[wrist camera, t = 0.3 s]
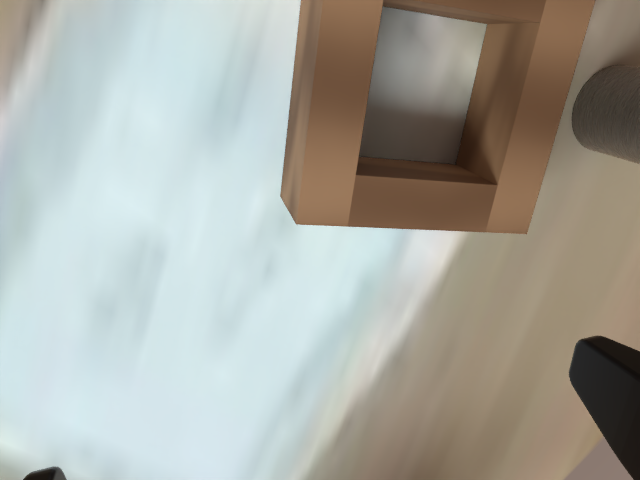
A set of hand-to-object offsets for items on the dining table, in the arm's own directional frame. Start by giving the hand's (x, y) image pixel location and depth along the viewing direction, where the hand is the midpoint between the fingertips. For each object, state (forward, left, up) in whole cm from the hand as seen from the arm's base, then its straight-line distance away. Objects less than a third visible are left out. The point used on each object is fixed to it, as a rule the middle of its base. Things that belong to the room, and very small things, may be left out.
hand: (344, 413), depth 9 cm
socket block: (+2, -7, -14) cm, 16 cm away
